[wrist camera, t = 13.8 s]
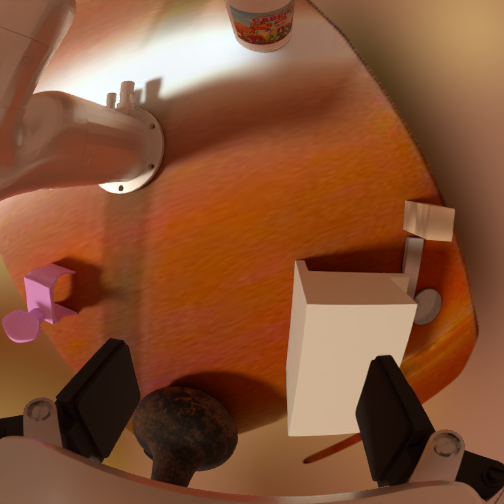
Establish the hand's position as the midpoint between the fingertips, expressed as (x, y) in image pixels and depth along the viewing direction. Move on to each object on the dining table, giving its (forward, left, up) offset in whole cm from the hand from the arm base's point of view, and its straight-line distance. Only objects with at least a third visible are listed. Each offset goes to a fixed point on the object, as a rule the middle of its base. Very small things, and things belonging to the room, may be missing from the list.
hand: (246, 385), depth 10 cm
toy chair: (+10, -35, -29) cm, 46 cm away
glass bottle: (+32, -12, -28) cm, 44 cm away
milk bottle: (-29, -1, -28) cm, 41 cm away
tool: (+4, +21, -28) cm, 36 cm away
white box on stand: (+12, +11, -28) cm, 33 cm away
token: (+10, +25, -29) cm, 40 cm away
